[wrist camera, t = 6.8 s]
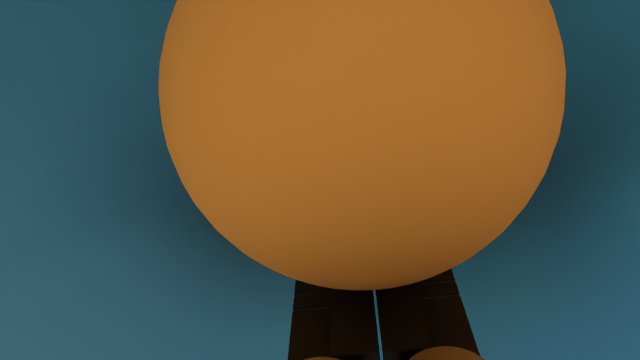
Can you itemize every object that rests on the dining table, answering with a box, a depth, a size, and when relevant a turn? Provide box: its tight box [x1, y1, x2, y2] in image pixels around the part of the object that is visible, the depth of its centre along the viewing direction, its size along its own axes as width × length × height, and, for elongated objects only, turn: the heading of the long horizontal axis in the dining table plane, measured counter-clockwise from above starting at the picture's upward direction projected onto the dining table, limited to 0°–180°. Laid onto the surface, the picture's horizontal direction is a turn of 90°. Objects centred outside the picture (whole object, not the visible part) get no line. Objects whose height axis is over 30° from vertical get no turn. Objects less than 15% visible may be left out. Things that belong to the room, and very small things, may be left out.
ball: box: [158, 0, 566, 290], centre depth 9 cm, size 6×6×6 cm
